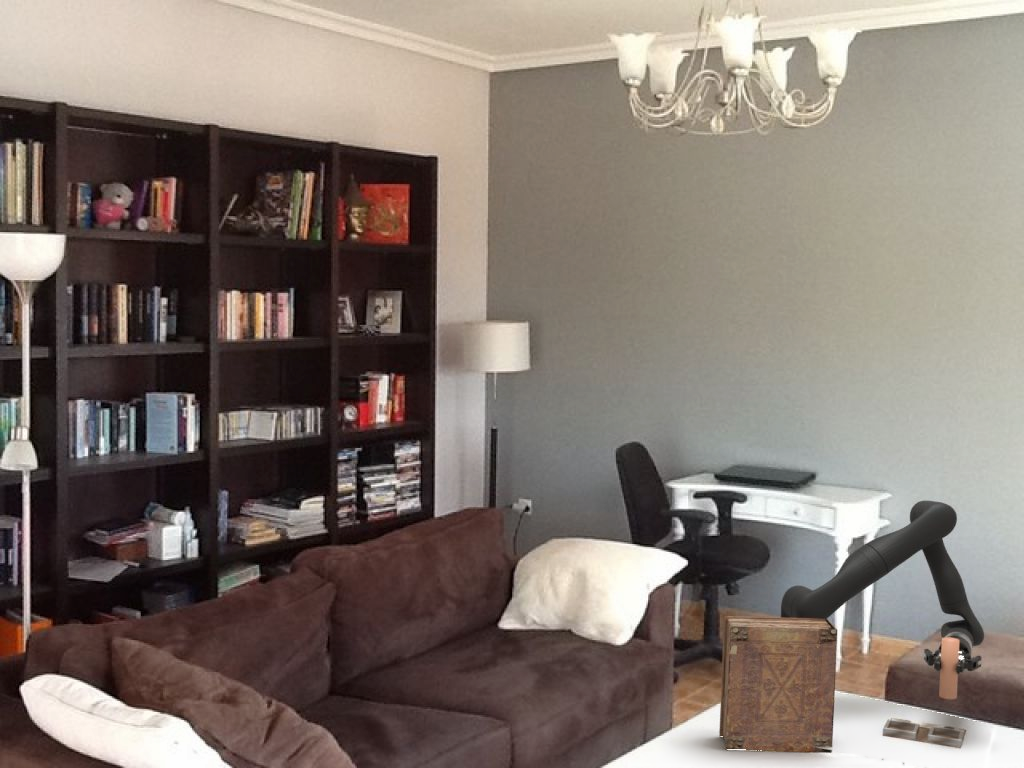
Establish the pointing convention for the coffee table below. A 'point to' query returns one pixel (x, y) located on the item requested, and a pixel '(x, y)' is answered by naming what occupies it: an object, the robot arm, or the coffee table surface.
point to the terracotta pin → (949, 668)
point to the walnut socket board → (924, 732)
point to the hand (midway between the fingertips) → (948, 668)
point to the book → (778, 684)
